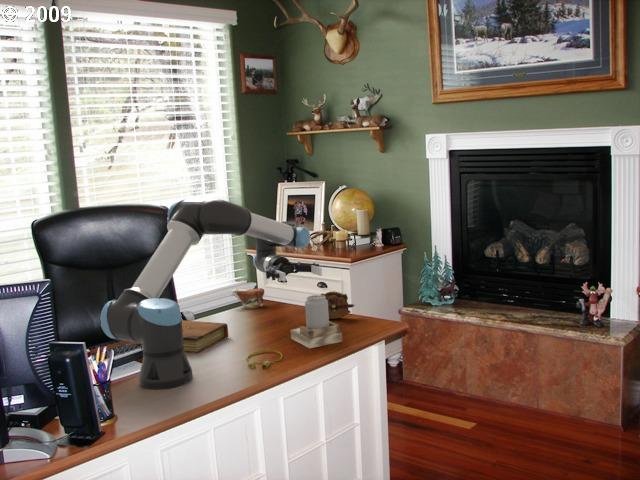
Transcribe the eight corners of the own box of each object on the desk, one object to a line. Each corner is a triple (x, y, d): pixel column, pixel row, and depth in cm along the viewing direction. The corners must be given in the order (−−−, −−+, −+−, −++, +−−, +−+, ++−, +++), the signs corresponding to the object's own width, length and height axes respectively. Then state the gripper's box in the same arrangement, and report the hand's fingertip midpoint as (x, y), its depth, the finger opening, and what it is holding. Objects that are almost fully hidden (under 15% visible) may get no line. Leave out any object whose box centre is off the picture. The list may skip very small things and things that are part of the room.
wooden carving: (310, 321, 268) (308, 294, 266) (311, 317, 272) (309, 291, 270) (355, 319, 266) (353, 292, 264) (355, 316, 270) (354, 290, 268)
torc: (231, 367, 223) (230, 360, 222) (261, 352, 236) (261, 346, 235) (263, 372, 216) (263, 365, 216) (293, 356, 229) (292, 350, 229)
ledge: (309, 348, 235) (308, 331, 234) (291, 338, 247) (290, 322, 246) (342, 341, 240) (341, 325, 239) (322, 332, 252) (321, 316, 252)
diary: (228, 339, 254) (227, 322, 253) (197, 355, 237) (196, 338, 236) (174, 333, 263) (172, 318, 263) (140, 349, 247) (139, 333, 246)
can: (302, 332, 242) (299, 297, 240) (319, 327, 247) (316, 293, 245) (317, 336, 236) (315, 300, 235) (334, 331, 241) (332, 295, 240)
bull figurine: (231, 307, 295) (230, 287, 294) (265, 304, 298) (263, 284, 296) (232, 310, 291) (230, 290, 290) (266, 306, 293) (264, 286, 292)
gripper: (308, 271, 272) (335, 280, 254) (246, 280, 261) (269, 290, 243) (307, 251, 271) (334, 258, 253) (244, 260, 260) (268, 268, 241)
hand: (302, 274), depth 248 cm, fingers open, 13 cm apart
